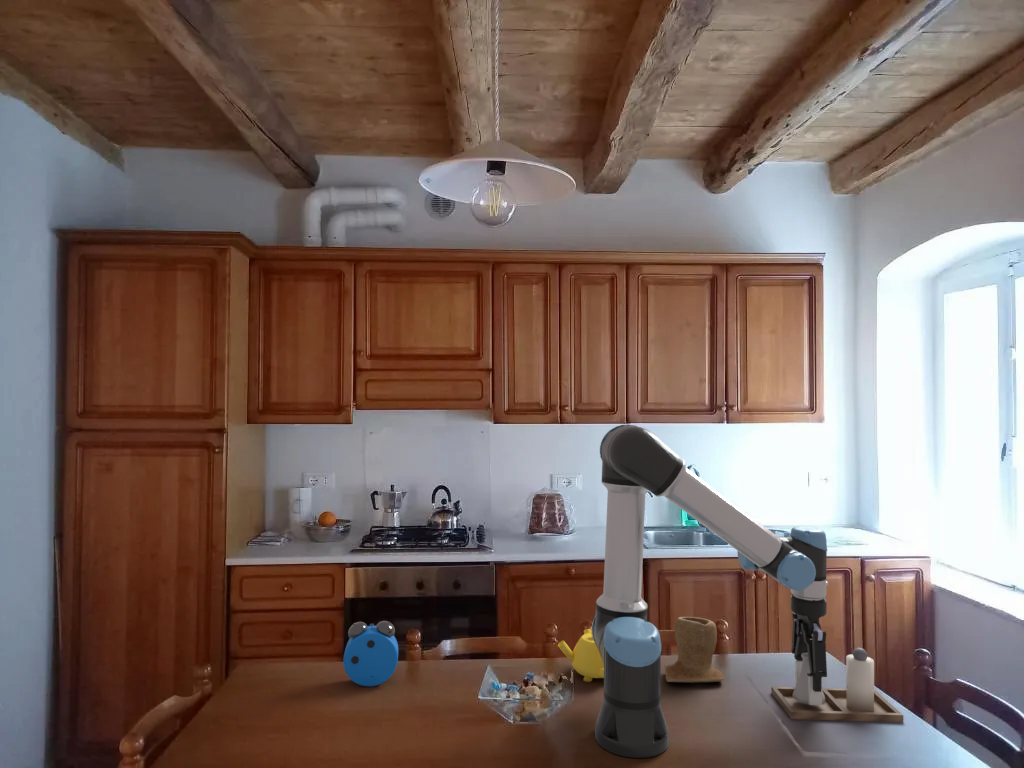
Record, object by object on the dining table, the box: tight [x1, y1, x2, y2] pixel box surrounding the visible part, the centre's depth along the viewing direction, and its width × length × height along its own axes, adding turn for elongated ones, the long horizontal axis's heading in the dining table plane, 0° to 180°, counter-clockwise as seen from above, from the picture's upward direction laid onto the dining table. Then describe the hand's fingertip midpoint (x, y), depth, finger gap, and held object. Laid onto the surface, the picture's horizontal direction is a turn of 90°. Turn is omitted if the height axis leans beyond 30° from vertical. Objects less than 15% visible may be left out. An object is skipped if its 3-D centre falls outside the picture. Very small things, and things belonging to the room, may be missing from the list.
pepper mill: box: [845, 647, 875, 712], centre depth 154 cm, size 6×6×14 cm
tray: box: [770, 686, 904, 723], centre depth 155 cm, size 24×13×2 cm, turn 87°
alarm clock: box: [342, 620, 399, 687], centre depth 168 cm, size 13×6×15 cm, turn 98°
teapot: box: [557, 628, 604, 683], centre depth 174 cm, size 14×14×11 cm
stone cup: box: [664, 616, 724, 683], centre depth 172 cm, size 15×12×15 cm
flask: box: [792, 653, 826, 705], centre depth 155 cm, size 7×7×10 cm
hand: (808, 696), depth 155 cm, fingers closed on flask, 7 cm apart
